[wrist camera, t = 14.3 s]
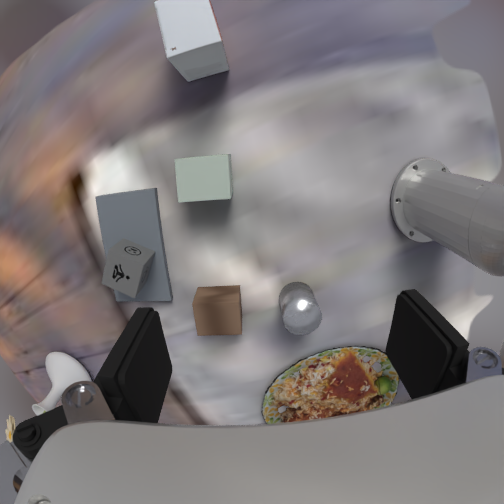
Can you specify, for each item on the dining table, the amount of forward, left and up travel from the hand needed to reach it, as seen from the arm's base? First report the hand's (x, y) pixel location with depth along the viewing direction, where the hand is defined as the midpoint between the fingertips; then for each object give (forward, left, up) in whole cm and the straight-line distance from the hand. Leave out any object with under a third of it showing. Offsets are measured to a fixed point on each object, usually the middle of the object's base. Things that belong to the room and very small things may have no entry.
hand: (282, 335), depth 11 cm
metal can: (-5, +14, -28) cm, 32 cm away
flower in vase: (+40, +30, -28) cm, 58 cm away
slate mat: (+18, +5, -28) cm, 34 cm away
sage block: (+6, -4, -28) cm, 29 cm away
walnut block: (+6, +14, -28) cm, 32 cm away
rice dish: (-13, +38, -29) cm, 49 cm away
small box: (+6, -21, -29) cm, 36 cm away
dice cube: (+17, +7, -28) cm, 33 cm away
